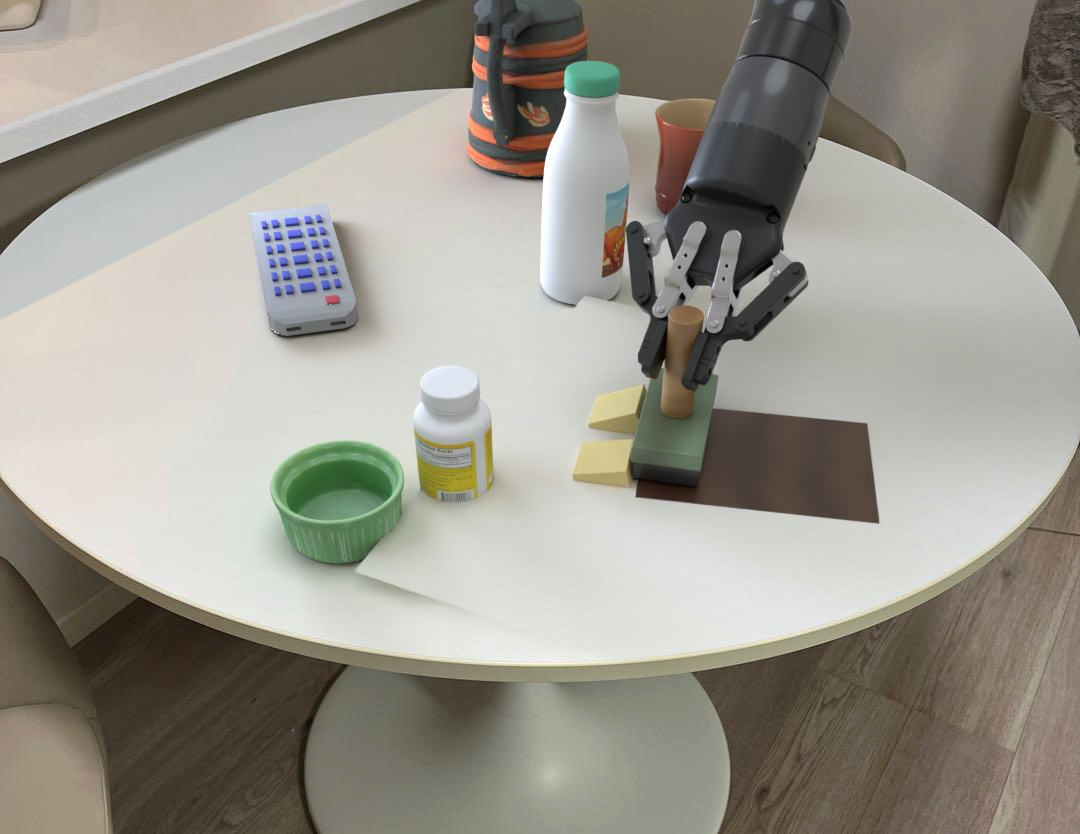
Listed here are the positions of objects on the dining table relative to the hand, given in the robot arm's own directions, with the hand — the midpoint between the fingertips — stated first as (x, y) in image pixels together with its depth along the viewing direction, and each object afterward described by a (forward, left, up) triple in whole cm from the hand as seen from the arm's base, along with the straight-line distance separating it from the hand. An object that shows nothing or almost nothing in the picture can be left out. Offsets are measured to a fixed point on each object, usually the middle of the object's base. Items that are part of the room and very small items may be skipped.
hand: (668, 380), depth 73 cm
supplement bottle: (+14, +4, -9) cm, 17 cm away
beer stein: (+19, -56, -9) cm, 60 cm away
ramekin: (+21, +9, -9) cm, 25 cm away
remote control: (+36, -26, -9) cm, 46 cm away
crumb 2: (+4, +1, -8) cm, 9 cm away
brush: (-1, -2, -7) cm, 7 cm away
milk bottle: (+9, -28, -9) cm, 31 cm away
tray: (-7, -2, -9) cm, 11 cm away
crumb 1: (+3, -5, -8) cm, 10 cm away
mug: (-1, -48, -9) cm, 49 cm away
